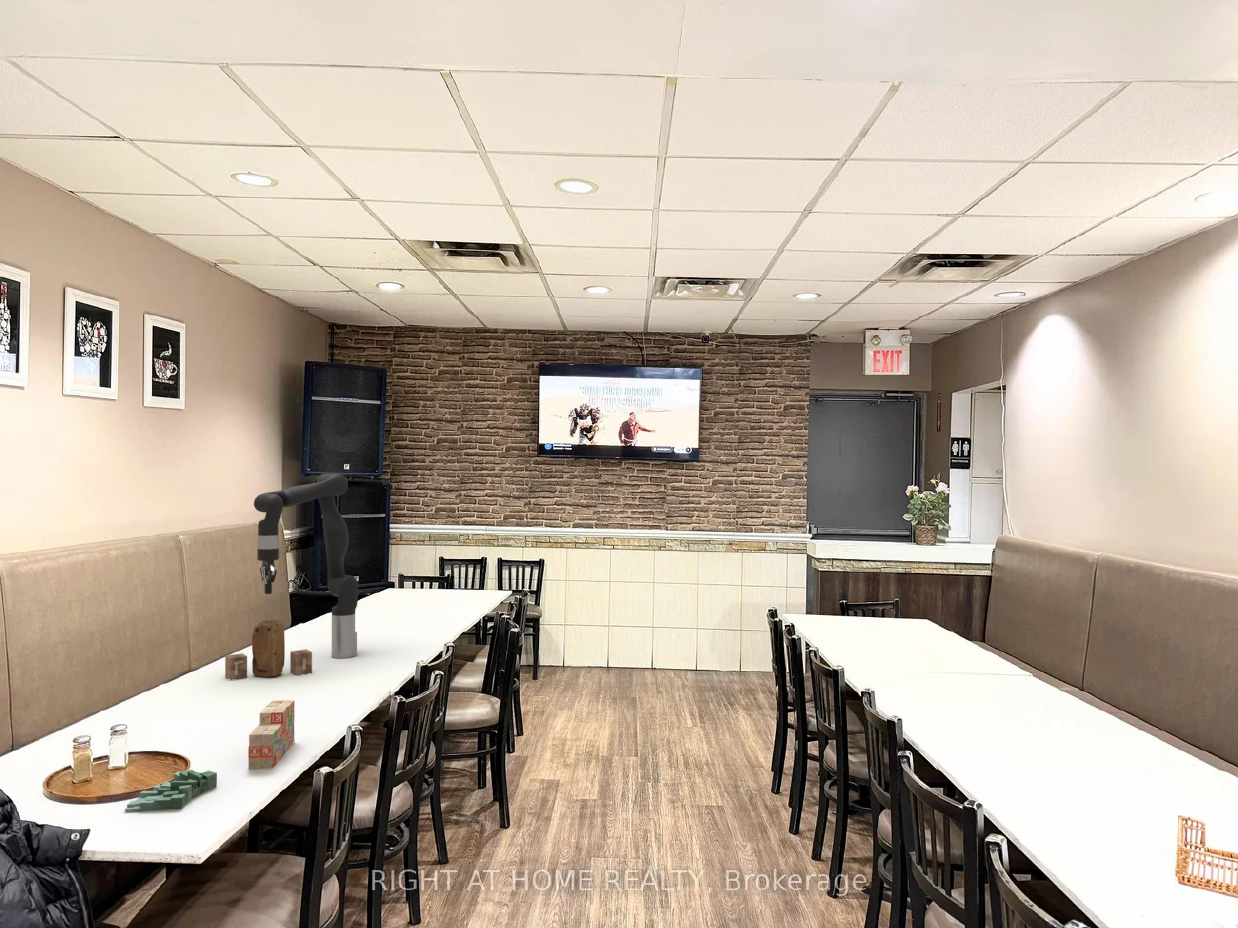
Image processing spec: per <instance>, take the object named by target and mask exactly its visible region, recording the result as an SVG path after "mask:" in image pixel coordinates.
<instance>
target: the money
mask: <svg viewBox="0 0 1238 928" xmlns="http://www.w3.org/2000/svg"><path fill="white" fill-rule="evenodd" d="M173 779H175V781H171V780H170V781H171V782H168V781H167V782H164V784H162V785H160V784H161V783H159V784H156V785H154V786H153V787H152V790H153V789H154V790H153V791H151V790H141V792H139V797H138V798H136V799H135V800H130V801H129V802H128V803H127V804H126V808H124V811H125V812H126V813H137V812H144V811H145V812H154V811H168V810H182V809H183V808H184V807H185V806H186V804H188V803H190V802H191V801H192V800H193V799H196V798H197V797H198V796H200V795H203V794H205V793H207V792H208V791H210V790H213V789H216V788H217V787H218V785H217V784H218V782H217V781H218V772H216V771H212V770H206V771H203V772H200V771H195V770H193V769H189V770H187V771H186V770H182V771H180V770H179V771H177V772H174V773H173Z"/></svg>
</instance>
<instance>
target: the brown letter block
mask: <svg viewBox="0 0 1238 928" xmlns="http://www.w3.org/2000/svg"><path fill="white" fill-rule="evenodd" d="M224 660H225V662H224V663H225V665H224V669H225V672H224V675H225V676H224V677H225V679H227V680H228V679H230V680H229V681H232V680H231V679H236V680H243V679H247V678H248V656H247V655H246V654H244V653H243V652H242V653H233V654H228V655H227V654H226V655H225V657H224Z"/></svg>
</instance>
